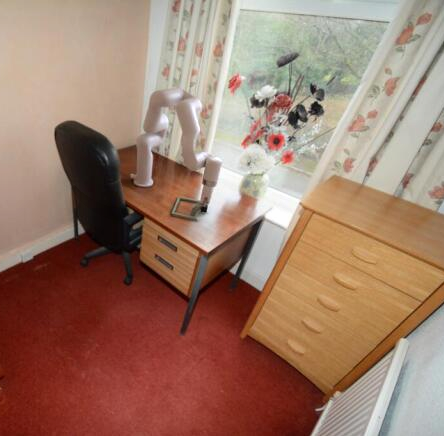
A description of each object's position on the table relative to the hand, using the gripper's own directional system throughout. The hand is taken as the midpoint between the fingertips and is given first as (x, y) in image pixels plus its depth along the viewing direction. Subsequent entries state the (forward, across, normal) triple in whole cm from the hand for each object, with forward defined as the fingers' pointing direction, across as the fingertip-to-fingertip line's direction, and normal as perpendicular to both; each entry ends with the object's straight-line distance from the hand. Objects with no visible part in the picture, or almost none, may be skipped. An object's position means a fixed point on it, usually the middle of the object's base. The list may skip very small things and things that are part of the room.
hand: (203, 211), depth 148 cm
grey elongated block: (+1, 0, -3) cm, 3 cm away
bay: (+1, 0, -9) cm, 9 cm away
